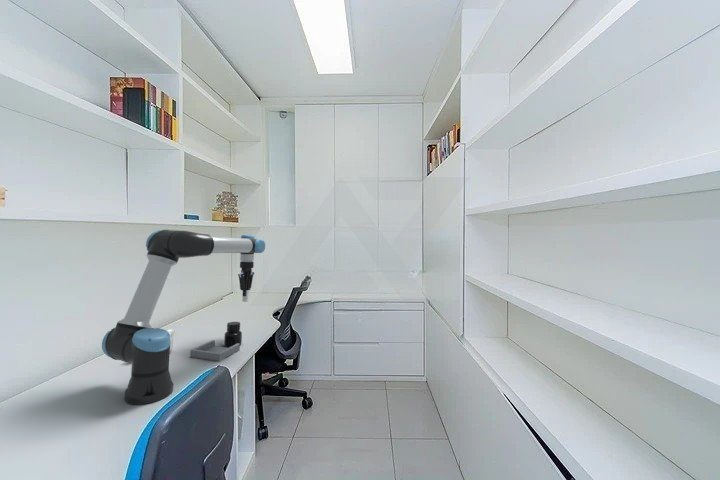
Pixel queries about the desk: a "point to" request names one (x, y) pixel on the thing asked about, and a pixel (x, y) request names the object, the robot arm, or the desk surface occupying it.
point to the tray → (213, 351)
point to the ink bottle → (233, 334)
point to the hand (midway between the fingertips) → (245, 301)
